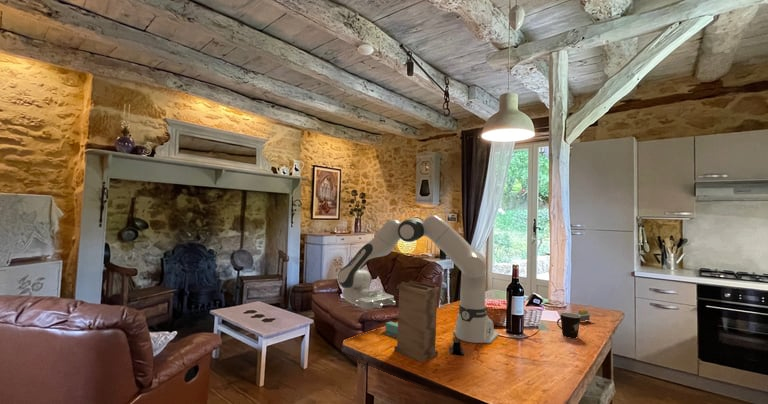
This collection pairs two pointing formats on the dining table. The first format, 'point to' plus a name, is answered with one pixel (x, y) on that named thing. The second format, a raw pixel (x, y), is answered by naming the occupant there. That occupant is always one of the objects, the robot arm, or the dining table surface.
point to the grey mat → (390, 334)
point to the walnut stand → (417, 320)
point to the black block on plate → (456, 348)
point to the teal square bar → (392, 327)
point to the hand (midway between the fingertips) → (388, 304)
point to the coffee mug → (569, 324)
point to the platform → (584, 315)
